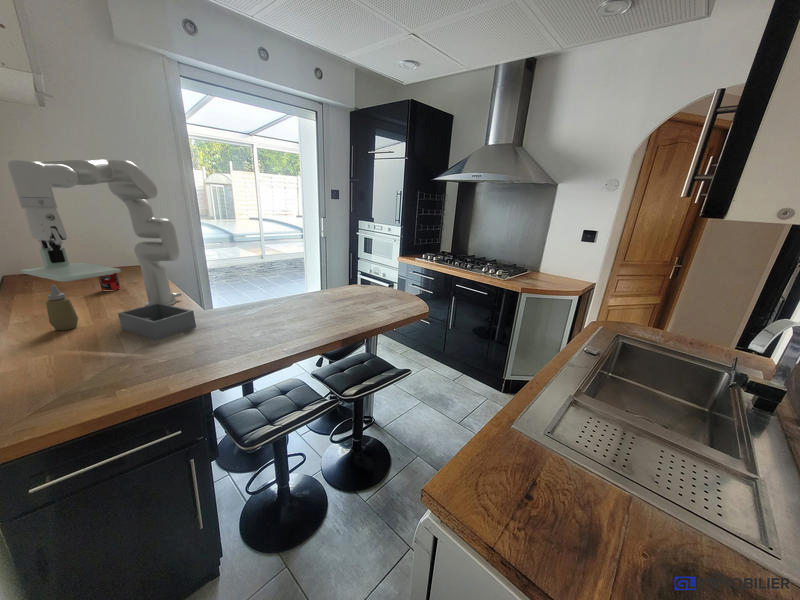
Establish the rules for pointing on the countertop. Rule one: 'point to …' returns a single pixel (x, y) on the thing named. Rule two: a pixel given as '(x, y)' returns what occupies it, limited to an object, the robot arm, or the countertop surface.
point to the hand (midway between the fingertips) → (55, 261)
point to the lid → (68, 269)
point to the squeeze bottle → (60, 311)
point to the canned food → (109, 282)
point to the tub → (157, 320)
